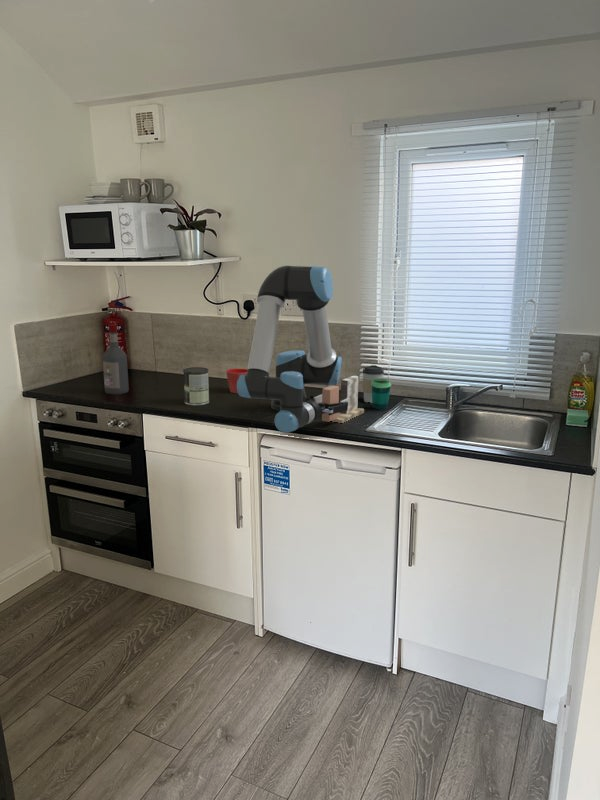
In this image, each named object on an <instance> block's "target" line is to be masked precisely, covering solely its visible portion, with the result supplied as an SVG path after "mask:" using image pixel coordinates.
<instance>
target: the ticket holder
mask: <svg viewBox="0 0 600 800" xmlns="http://www.w3.org/2000/svg"><path fill="white" fill-rule="evenodd" d="M358 396H359V376H358V375H351V376H349V377H346V378H343V379H341V381H340V401H342V400H345V399H347V398H350V405H349V406H348V410H347V411H344V412H339V413H338V418H336V419H334V420H332V422H331V423H334V422H338V423H337V424H340V423H343V424H345V423H347V422H348V420H349V421H351V420H353V419H354V417H355V418H356V416H357V417H358V416H360V415H362V414H364V413H365V409H364V408H362V407H361V408H360V407H359V408H358V403H359V401H358V399H359V397H358ZM352 418H353V419H352ZM350 419H351V420H350ZM346 421H347V422H346ZM344 422H345V423H344Z"/></svg>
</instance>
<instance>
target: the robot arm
mask: <svg viewBox="0 0 600 800" xmlns="http://www.w3.org/2000/svg"><path fill="white" fill-rule="evenodd" d="M333 285H334V282H333V277H332V274H331V272H330V270H329V269H328V268H326V267H325V266H318V265H313V266H305V265H303V266H302V265H301V266H300V265H296V266H295V265H282V266H279V267H277V268H275V269H274V270H273V271H271V272H270V273H269V274H268V275H267V276H266V277H265V279H264V281H263V282H262V283H261V286H260V287H259V290H258V294H257V297H256V302H257V304H258V308H257V314H256V320H255V324H254V330H253V336H252V342H251V346H250V347H251V348H250V351H249V352H250V353H249V357H248V358H249V359H248V362H247V373H246V375H241V376H240V377H239V379H238V381H237V392H238V393H237V394H238V395H239V397H242V398H247V399H255V400H256V399H259V400H260V399H261V400H271V404H270V405H271V409H272V410H274V411H276V412H277V413H276V415H275V416H274V421H273V422H274V425H275V427H276V429H277V430H278V431H279V432H281V433H284V434H288V433H291V432H294V431H297V430H298V429H301V428H303V427H305V426H306V425H308V424H311V423H313V422H315V421H317V420H318V419H319V418H320V417H321V416H322V414H324V413H328V415H333V414H335V413H339V412H344V411H347V410H348V406H349V405H350V398H347V399H345V400H342V401H341V400H339V401H340V402H339V403H333V404H327V403H323V404H322V393H321V394H319V395H317V396H314V395H310V396H309V397H308V396H307V395H306V394H307V393H306V390H305V385H312V386H313V385H315V386H327V387H329V386H331V385H332V386H337V385H338V383H339V380H340V377H341V372H342V364H343V358H342V357H341V356H338V355H337V352H336V351H335V349H333V348H332V343H331V342H332V341H331V335H330V334H331V333H330V328H329V320H328V313H327V305H328V304H329V302H330V301H331V300H332V299H333V294H334V288H333ZM286 300H289V301H290V300H291V301H296V305H297V307H298V308H299V310H302V317H303V322H304V328H305V333H306V340H307V345H308V352H307V354H306V352H305V350H299V349H297V350H288V351H283V352H280V353H277V355H276V356H275V376H269V375H270V369H271V365H272V359H273V353H274V347H275V342H276V338H277V330H278V324H279V319H280V313H281V309H282V308H284V306H285V302H286ZM324 406H325V407H324Z"/></svg>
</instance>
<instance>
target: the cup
mask: <svg viewBox="0 0 600 800" xmlns="http://www.w3.org/2000/svg"><path fill="white" fill-rule="evenodd" d="M371 385H372V402H373V403H372V408H373V409H374V408H375V410H380V409H383V410H386V409H387V408H388V404H389V399H390V395H391V387H392V383H391V382H390V379H388V378H384V377H383V378H377V379H374V380H373V381H372V383H371Z"/></svg>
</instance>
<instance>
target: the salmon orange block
mask: <svg viewBox="0 0 600 800" xmlns="http://www.w3.org/2000/svg"><path fill="white" fill-rule="evenodd" d="M321 394H322V402H321V404H323V403H327V404H333V403H340V402H339V401H340V386H337V385H334V386H332V385H331V386H327V387H323V388H322V393H321ZM324 407H325V406H324ZM336 418H338V413H335V414H333V415H328V413H324V414H321V421H322V422H329V423H331V422H330V421H332V420H334V419H336Z"/></svg>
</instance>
